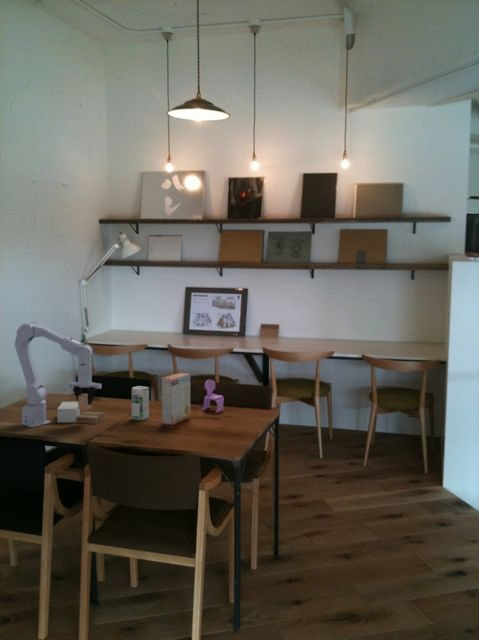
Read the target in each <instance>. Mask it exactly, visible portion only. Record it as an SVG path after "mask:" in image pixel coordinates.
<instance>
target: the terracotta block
mask: <svg viewBox="0 0 479 640" xmlns="http://www.w3.org/2000/svg"><path fill="white" fill-rule="evenodd" d="M77 402H78V405H79V410H80V411H88V410H90V409H92V404H91V405H88V393H82V394H81V395H79V396H78V401H77Z"/></svg>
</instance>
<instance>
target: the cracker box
mask: <svg viewBox="0 0 479 640" xmlns="http://www.w3.org/2000/svg"><path fill="white" fill-rule="evenodd" d="M161 389H162V390H161V399H162V400H161V403H162V404H161V407H162V409H161V411H162V412H161V413H162V414H161V415H162V418H161V419H162V420H161V421H162V424H163V425H170V426H175V425H176V424H179V423H181V422H184V421H186V420H189V419H191V373H187V372H179V373H174V374H171V375H167V376H165V377H161Z"/></svg>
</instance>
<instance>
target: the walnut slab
mask: <svg viewBox="0 0 479 640" xmlns="http://www.w3.org/2000/svg"><path fill="white" fill-rule="evenodd" d="M104 419H105V412H97V411H96V412H93V411H84V412H82V413H80V415H79V416H77V421H76V423H77V424H89V425H90V424H92V425H97V424H99V423H100V422H101V421H102V420H104Z"/></svg>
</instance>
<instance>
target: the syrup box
mask: <svg viewBox="0 0 479 640" xmlns="http://www.w3.org/2000/svg"><path fill="white" fill-rule="evenodd" d="M149 399H150V387H149V386H141V385H137V386H133V387H131V419H132V420H136V421H144V420H147V419H149V417H150V415H149V414H150V413H149V411H150V409H149V408H150V406H149V405H150V400H149Z"/></svg>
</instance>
